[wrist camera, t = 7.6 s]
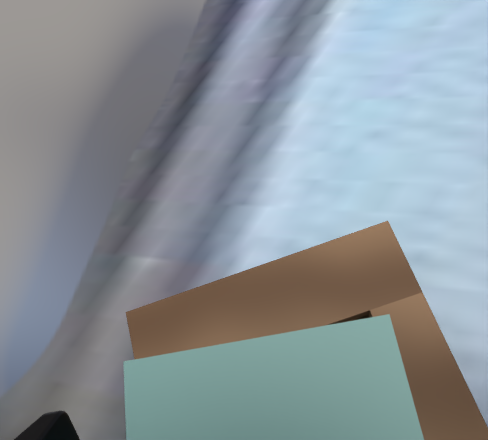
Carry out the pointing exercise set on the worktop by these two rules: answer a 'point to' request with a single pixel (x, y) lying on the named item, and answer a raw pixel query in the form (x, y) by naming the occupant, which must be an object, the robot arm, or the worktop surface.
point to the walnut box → (324, 318)
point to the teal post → (277, 388)
